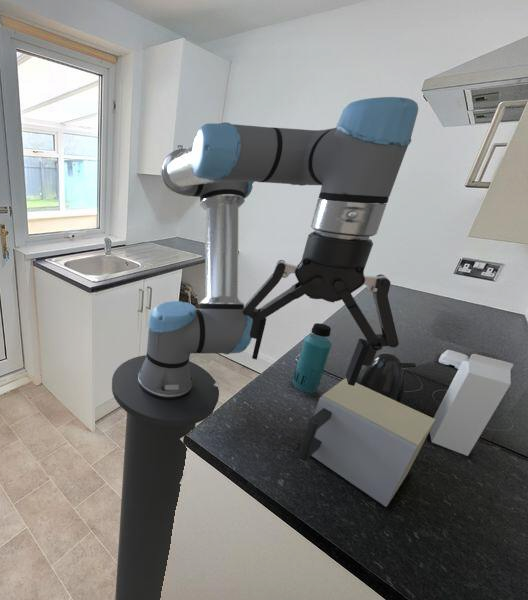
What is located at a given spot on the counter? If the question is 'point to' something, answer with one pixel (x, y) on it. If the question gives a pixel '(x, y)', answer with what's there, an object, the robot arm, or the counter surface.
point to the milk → (470, 402)
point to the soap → (452, 358)
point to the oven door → (357, 449)
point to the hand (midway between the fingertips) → (299, 367)
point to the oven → (383, 414)
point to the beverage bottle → (312, 359)
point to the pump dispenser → (385, 375)
